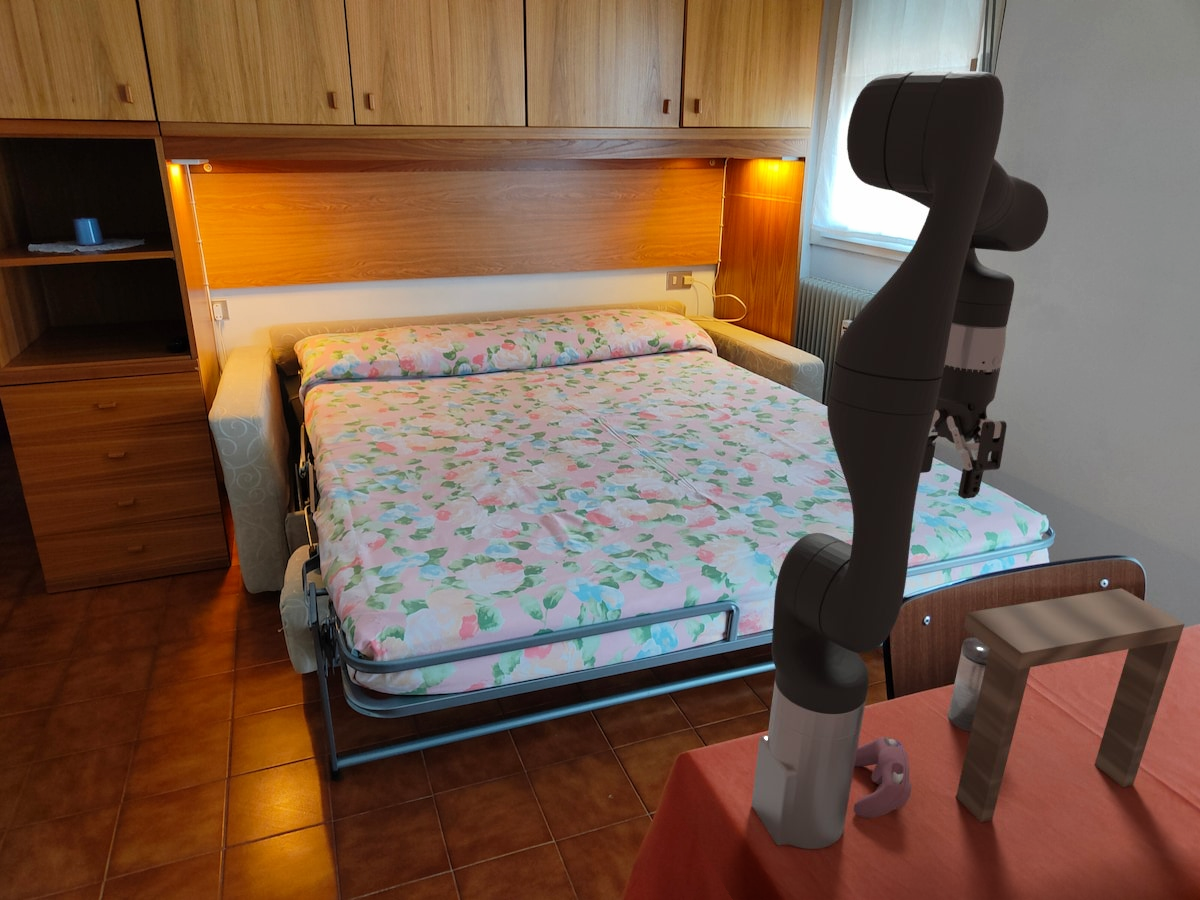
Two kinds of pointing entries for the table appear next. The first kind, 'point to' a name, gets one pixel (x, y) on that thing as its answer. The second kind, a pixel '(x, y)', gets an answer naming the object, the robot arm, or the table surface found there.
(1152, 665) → the walnut shelf
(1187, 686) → the table surface
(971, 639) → the salt shaker
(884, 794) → the video game controller
